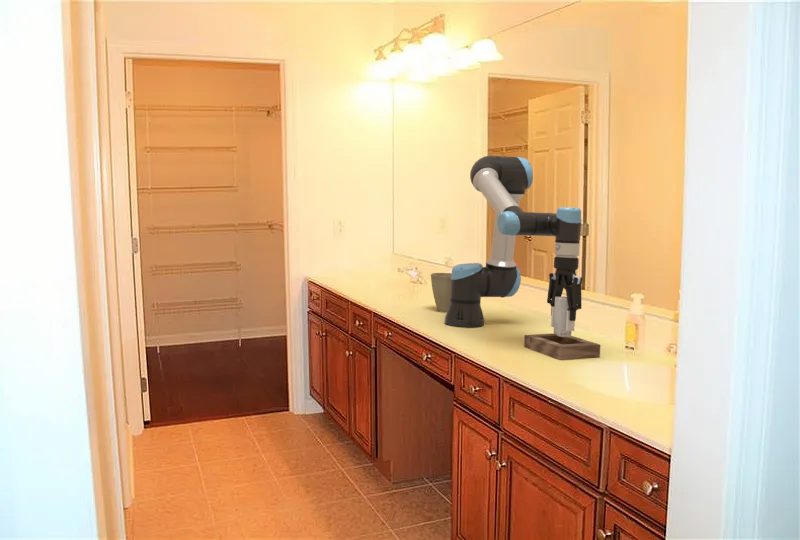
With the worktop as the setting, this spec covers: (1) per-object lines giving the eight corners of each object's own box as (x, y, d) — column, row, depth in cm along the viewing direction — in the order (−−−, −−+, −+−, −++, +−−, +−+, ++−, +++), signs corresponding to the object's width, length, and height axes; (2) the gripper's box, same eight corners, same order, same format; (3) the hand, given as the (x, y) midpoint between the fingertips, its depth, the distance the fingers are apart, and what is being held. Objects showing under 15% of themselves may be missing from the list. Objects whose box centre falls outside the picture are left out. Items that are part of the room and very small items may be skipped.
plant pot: (425, 312, 281) (426, 275, 279) (434, 307, 295) (435, 272, 293) (459, 315, 276) (461, 277, 275) (466, 310, 290) (468, 274, 289)
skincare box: (571, 337, 207) (574, 299, 205) (557, 337, 206) (560, 298, 205) (565, 333, 213) (568, 296, 211) (552, 332, 213) (554, 295, 211)
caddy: (523, 347, 216) (524, 335, 215) (561, 344, 222) (562, 333, 221) (560, 360, 198) (560, 347, 198) (599, 357, 204) (600, 344, 204)
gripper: (538, 254, 215) (534, 323, 217) (577, 259, 197) (572, 335, 199) (556, 254, 218) (552, 323, 220) (597, 259, 200) (592, 333, 202)
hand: (562, 328), depth 209 cm, fingers closed on skincare box, 7 cm apart
